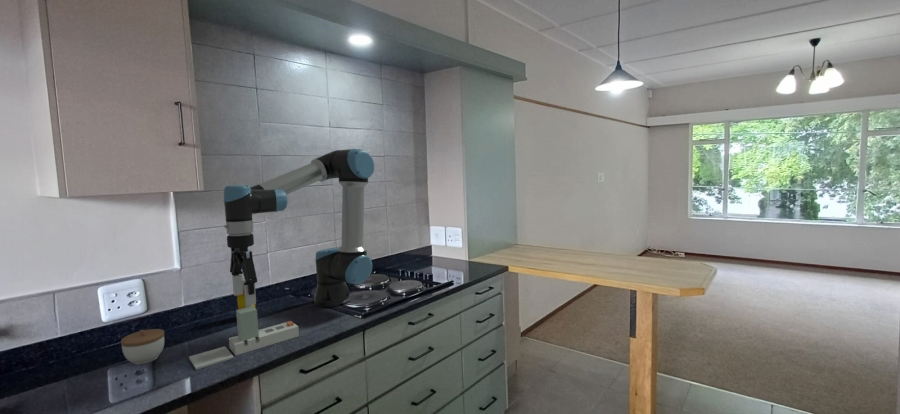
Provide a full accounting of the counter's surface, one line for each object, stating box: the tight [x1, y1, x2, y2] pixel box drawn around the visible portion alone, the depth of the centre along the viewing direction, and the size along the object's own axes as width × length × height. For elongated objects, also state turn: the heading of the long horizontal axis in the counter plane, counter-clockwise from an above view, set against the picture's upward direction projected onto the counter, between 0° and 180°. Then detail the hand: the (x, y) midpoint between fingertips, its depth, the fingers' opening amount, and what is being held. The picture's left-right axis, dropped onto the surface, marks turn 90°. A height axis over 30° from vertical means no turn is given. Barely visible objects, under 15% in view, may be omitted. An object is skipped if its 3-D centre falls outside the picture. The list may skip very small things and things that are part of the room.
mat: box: [188, 345, 234, 371], centre depth 125 cm, size 10×10×1 cm
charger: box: [235, 306, 259, 344], centre depth 132 cm, size 5×4×10 cm
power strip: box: [228, 320, 300, 356], centre depth 136 cm, size 20×7×4 cm, turn 132°
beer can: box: [236, 277, 257, 310], centre depth 159 cm, size 6×6×15 cm
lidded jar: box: [120, 328, 165, 365], centre depth 125 cm, size 11×11×9 cm
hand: (244, 299), depth 131 cm, fingers open, 13 cm apart
